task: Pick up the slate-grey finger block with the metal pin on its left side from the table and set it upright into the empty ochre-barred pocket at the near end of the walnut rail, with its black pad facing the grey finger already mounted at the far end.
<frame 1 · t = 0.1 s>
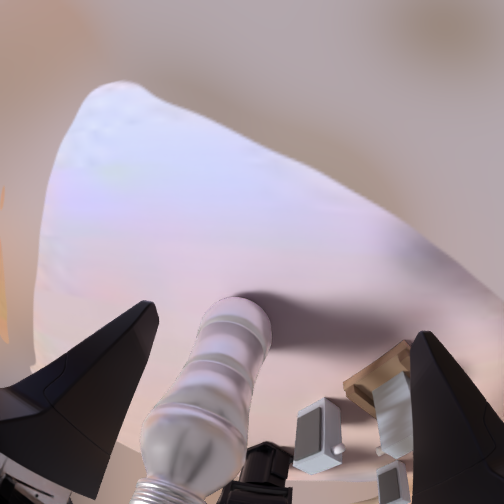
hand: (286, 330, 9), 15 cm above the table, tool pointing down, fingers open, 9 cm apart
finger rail: (432, 418, 28), on the table
plastic bottle: (241, 318, 28), on the table
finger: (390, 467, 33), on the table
box with small knob: (319, 410, 30), on the table
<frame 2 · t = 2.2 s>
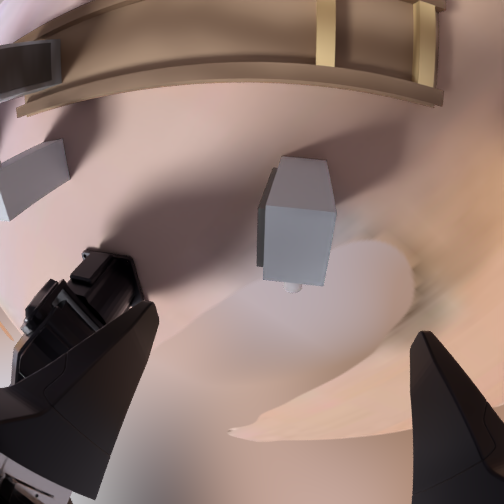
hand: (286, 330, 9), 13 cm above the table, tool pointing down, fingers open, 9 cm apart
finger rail: (185, 30, 15), on the table
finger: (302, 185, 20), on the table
box with small knob: (56, 160, 22), on the table
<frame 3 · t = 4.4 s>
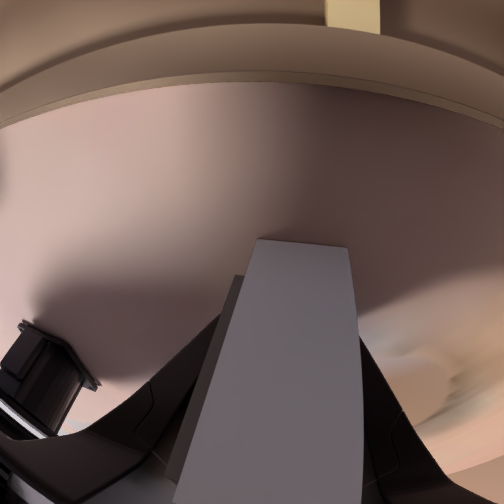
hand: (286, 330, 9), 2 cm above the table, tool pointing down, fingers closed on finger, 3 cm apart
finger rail: (68, 7, 6), on the table
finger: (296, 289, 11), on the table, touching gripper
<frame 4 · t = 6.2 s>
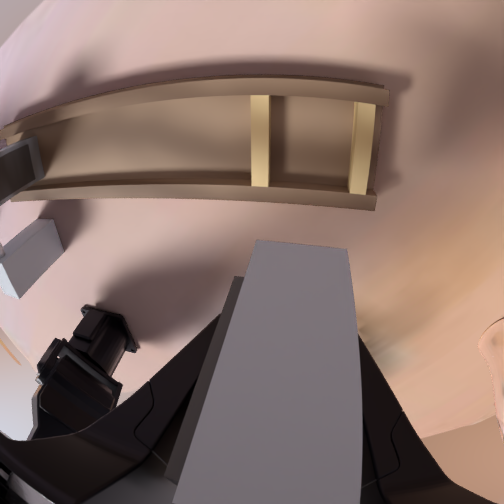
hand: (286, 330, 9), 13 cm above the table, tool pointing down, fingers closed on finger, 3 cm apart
beer glass: (497, 333, 24), on the table
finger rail: (142, 138, 19), on the table
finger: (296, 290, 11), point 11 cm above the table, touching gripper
box with small knob: (50, 235, 26), on the table
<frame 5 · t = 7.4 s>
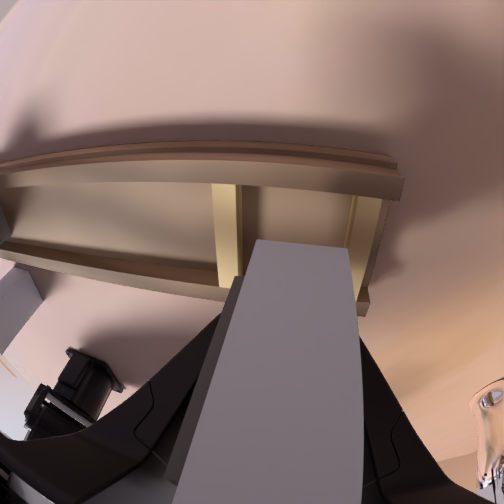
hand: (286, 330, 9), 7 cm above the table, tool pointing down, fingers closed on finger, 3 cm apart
beer glass: (490, 391, 21), on the table
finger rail: (100, 209, 16), on the table
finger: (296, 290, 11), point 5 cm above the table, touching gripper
box with small knob: (28, 284, 24), on the table
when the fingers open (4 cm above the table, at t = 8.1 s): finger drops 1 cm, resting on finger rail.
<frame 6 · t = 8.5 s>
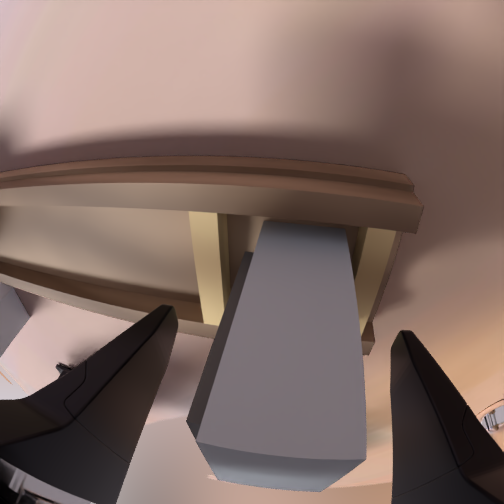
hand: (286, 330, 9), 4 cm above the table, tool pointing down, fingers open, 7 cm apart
beer glass: (494, 409, 19), on the table
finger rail: (76, 229, 14), on the table
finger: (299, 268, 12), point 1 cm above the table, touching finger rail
box with small knob: (14, 299, 21), on the table
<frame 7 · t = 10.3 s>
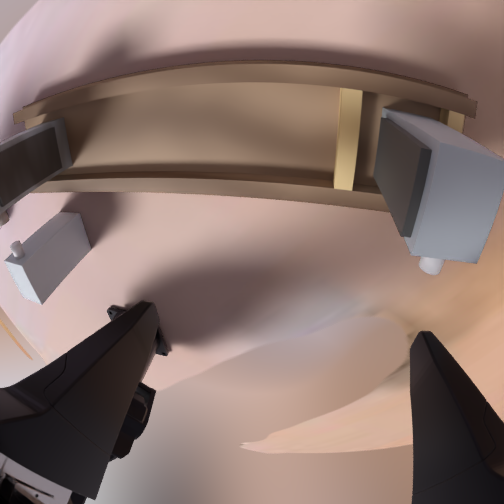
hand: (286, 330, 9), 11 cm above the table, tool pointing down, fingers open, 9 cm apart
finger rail: (198, 125, 17), on the table
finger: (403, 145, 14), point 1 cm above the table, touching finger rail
box with small knob: (75, 230, 24), on the table
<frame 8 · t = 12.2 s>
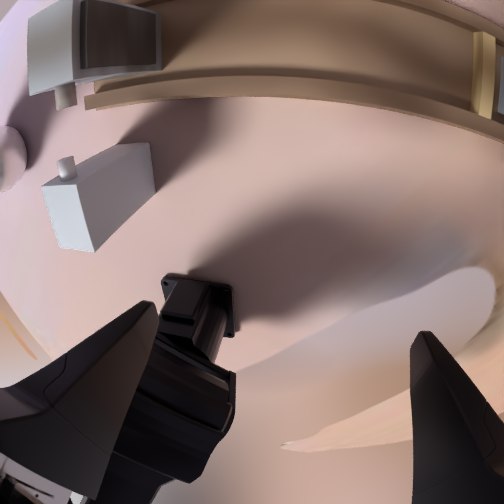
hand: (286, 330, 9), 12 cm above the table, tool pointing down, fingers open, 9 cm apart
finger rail: (340, 39, 13), on the table
plastic bottle: (18, 149, 21), on the table
box with small knob: (135, 168, 20), on the table
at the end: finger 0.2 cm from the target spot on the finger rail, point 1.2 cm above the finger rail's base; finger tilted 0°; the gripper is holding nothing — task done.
